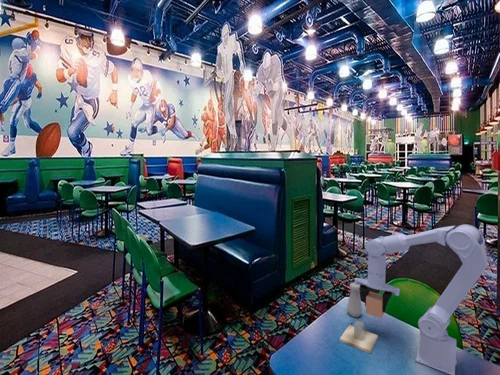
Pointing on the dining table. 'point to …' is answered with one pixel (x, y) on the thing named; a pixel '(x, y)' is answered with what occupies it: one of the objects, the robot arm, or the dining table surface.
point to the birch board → (363, 344)
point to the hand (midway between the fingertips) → (375, 308)
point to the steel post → (359, 330)
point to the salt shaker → (354, 301)
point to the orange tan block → (374, 304)
